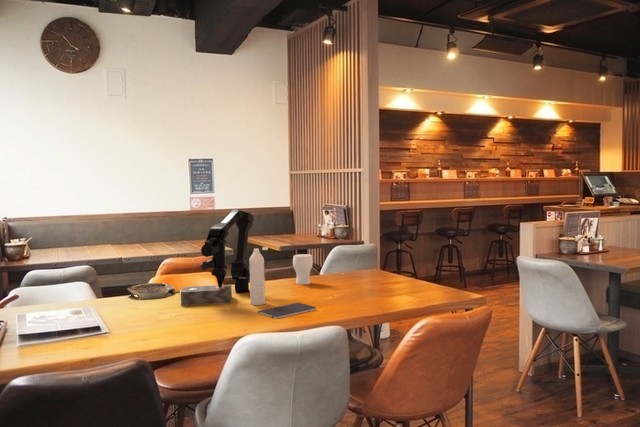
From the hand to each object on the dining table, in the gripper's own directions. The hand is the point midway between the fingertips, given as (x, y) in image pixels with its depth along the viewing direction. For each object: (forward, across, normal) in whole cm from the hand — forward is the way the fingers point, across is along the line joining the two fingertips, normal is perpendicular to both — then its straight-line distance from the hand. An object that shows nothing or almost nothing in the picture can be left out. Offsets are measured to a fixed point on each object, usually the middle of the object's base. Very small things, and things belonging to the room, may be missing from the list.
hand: (220, 287), depth 246 cm
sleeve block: (+6, 0, -6) cm, 9 cm away
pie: (+7, -23, -35) cm, 43 cm away
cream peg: (+6, 0, -12) cm, 13 cm away
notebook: (+7, +27, +29) cm, 40 cm away
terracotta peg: (+6, 0, 0) cm, 6 cm away
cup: (+6, -32, +42) cm, 53 cm away
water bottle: (+6, +10, +18) cm, 22 cm away
